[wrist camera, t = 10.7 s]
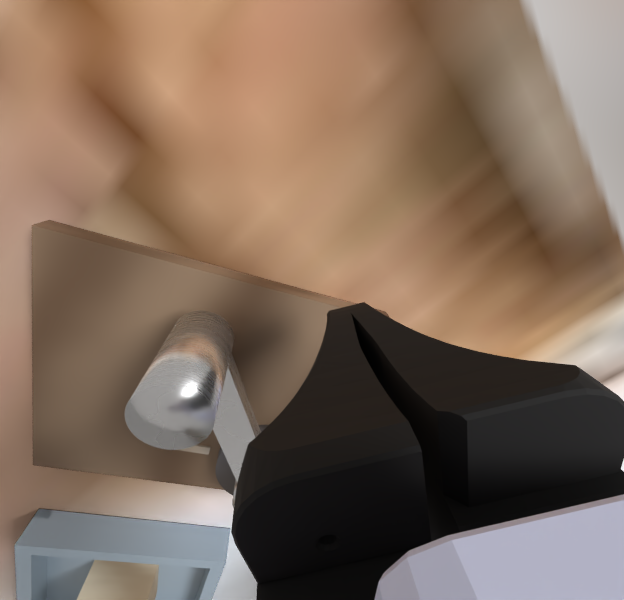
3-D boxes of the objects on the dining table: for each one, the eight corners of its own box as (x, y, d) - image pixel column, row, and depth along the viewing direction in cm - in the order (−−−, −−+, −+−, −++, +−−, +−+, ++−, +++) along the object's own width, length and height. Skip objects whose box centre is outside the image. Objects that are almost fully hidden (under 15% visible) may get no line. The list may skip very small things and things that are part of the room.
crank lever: (294, 488, 18) (299, 593, 13) (244, 499, 18) (233, 607, 13) (229, 301, 13) (204, 374, 9) (159, 316, 13) (101, 397, 9)
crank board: (386, 311, 16) (398, 330, 14) (305, 485, 21) (307, 513, 19) (49, 220, 13) (15, 230, 11) (45, 449, 18) (21, 479, 16)
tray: (230, 528, 22) (225, 562, 20) (198, 615, 26) (192, 650, 25) (38, 508, 20) (14, 545, 18) (38, 608, 24) (18, 646, 22)
